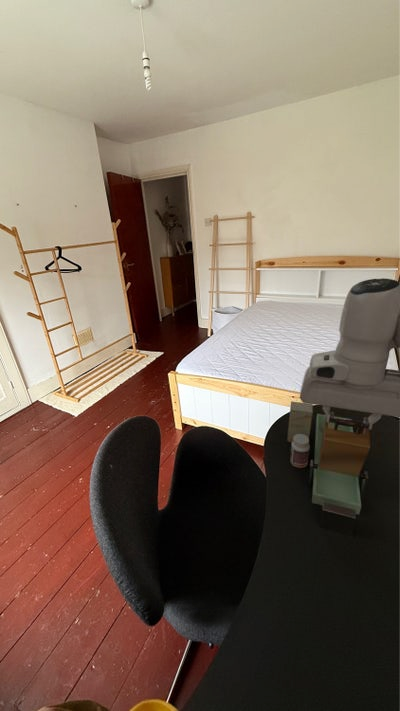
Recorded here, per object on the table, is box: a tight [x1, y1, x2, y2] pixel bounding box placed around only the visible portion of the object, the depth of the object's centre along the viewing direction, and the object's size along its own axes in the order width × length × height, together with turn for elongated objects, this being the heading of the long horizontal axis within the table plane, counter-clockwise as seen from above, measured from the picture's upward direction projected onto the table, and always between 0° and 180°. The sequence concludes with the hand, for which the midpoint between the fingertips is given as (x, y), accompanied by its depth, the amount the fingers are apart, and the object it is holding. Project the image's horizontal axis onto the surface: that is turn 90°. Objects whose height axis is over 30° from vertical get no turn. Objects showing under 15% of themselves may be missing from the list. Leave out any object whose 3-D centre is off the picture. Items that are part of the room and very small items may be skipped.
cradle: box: [307, 459, 369, 537], centre depth 68 cm, size 12×12×7 cm
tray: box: [311, 413, 362, 516], centre depth 82 cm, size 32×10×3 cm, turn 159°
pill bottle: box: [289, 434, 311, 469], centre depth 81 cm, size 5×5×8 cm
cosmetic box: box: [286, 400, 314, 443], centre depth 88 cm, size 6×4×12 cm
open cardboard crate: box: [319, 417, 371, 478], centre depth 67 cm, size 17×9×6 cm
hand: (347, 424), depth 63 cm, fingers closed on open cardboard crate, 6 cm apart
